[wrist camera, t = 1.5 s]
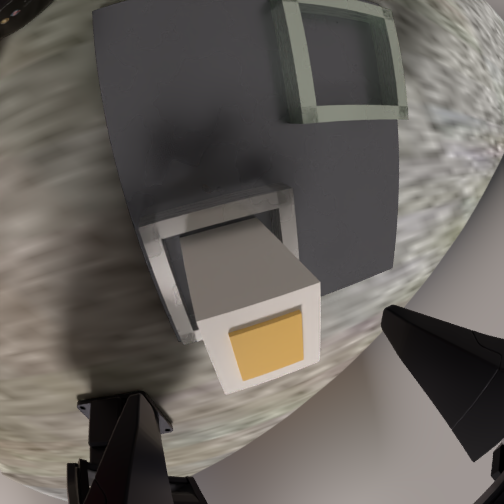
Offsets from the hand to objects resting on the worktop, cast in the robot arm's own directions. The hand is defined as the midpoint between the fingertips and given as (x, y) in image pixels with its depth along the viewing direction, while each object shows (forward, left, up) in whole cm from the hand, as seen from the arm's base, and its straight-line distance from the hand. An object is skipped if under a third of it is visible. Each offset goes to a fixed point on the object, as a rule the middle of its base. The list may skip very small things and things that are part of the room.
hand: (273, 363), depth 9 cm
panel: (+5, -4, -8) cm, 10 cm away
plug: (0, 0, -7) cm, 7 cm away
